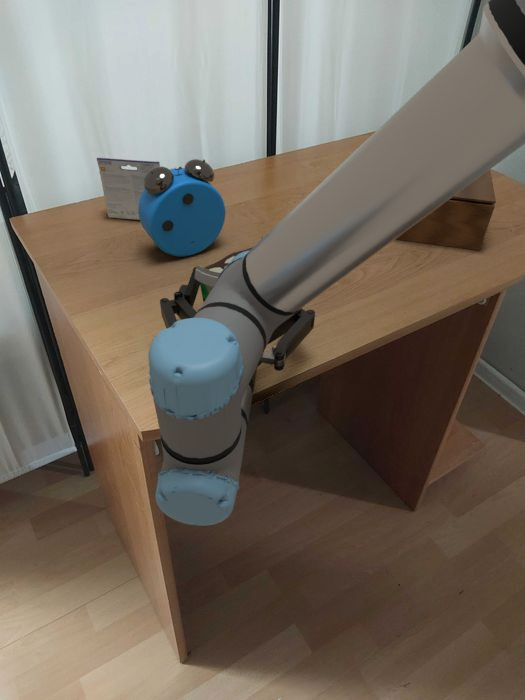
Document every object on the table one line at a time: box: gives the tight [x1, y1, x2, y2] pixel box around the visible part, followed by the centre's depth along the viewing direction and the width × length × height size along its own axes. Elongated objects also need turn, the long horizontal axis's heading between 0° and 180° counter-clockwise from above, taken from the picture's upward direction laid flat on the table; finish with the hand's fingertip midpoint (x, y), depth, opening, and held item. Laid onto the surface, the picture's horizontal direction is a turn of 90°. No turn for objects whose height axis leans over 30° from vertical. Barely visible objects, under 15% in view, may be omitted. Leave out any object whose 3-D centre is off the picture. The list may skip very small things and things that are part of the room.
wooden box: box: [395, 198, 496, 251], centre depth 96 cm, size 15×13×9 cm
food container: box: [195, 236, 264, 304], centre depth 75 cm, size 12×6×10 cm, turn 129°
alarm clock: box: [139, 158, 226, 257], centre depth 87 cm, size 13×6×15 cm, turn 119°
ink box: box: [96, 157, 161, 221], centre depth 95 cm, size 12×2×12 cm, turn 82°
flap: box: [452, 169, 497, 205], centre depth 92 cm, size 7×13×1 cm, turn 167°
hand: (244, 278), depth 76 cm, fingers open, 13 cm apart
